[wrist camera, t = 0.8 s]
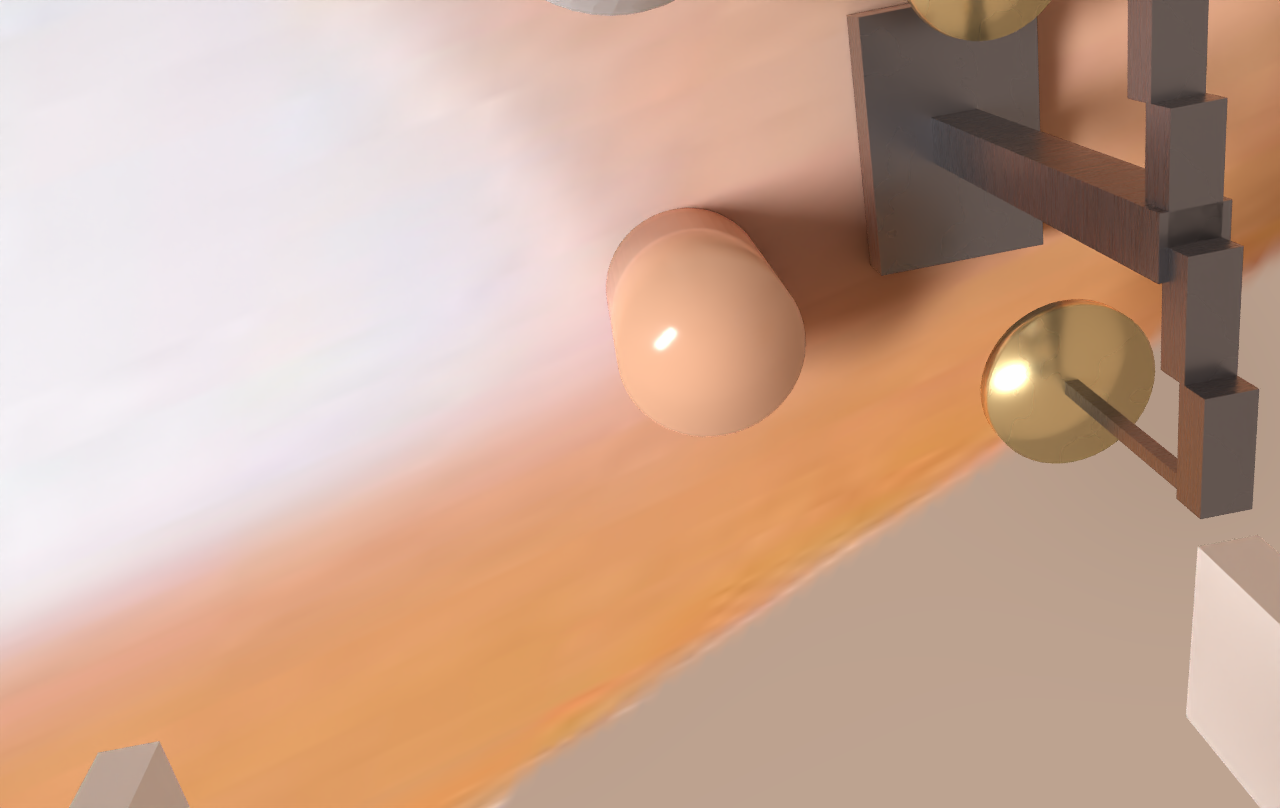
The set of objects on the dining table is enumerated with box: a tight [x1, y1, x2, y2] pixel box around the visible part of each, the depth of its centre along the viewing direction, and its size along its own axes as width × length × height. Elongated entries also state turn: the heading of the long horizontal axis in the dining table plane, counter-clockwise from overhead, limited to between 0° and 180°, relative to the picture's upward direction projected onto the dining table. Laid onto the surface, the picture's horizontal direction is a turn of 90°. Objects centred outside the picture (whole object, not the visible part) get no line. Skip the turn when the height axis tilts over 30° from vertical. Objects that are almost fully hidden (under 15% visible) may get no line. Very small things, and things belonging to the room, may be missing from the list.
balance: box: [847, 0, 1259, 519], centre depth 30 cm, size 17×6×18 cm, turn 10°
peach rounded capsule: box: [606, 208, 806, 437], centre depth 37 cm, size 6×6×7 cm
